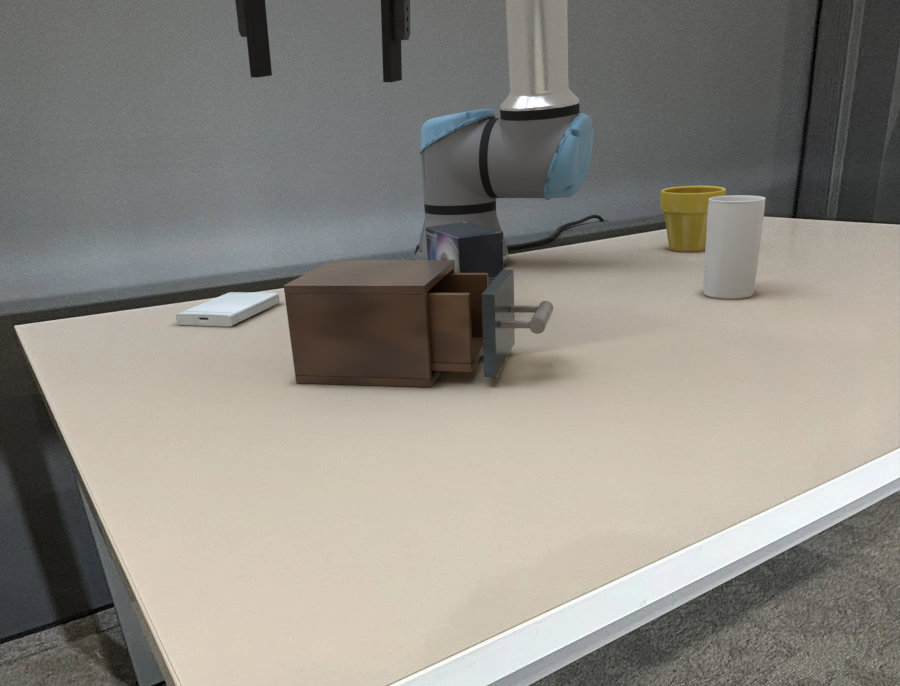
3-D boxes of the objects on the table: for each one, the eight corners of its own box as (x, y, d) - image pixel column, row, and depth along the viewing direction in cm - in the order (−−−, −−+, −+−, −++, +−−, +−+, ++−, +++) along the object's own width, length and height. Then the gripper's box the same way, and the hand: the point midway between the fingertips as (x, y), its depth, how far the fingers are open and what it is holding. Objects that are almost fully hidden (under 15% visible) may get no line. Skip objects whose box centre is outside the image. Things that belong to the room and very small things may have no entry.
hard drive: (227, 291, 112) (174, 312, 101) (278, 292, 110) (230, 313, 99) (229, 303, 113) (176, 325, 102) (280, 304, 110) (232, 327, 100)
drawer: (555, 344, 83) (555, 269, 80) (542, 379, 72) (542, 294, 69) (400, 341, 86) (395, 269, 83) (367, 374, 76) (360, 293, 73)
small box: (426, 307, 105) (422, 225, 100) (471, 300, 107) (468, 220, 103) (459, 324, 96) (455, 235, 91) (507, 317, 98) (506, 229, 94)
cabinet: (458, 349, 86) (455, 259, 82) (430, 387, 75) (424, 285, 71) (340, 347, 89) (331, 260, 85) (295, 383, 78) (283, 285, 74)
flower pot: (683, 256, 129) (688, 193, 125) (645, 248, 138) (648, 189, 134) (734, 249, 133) (740, 188, 129) (693, 241, 142) (697, 184, 138)
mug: (749, 301, 99) (759, 201, 95) (694, 297, 103) (702, 201, 98) (765, 285, 107) (775, 192, 102) (714, 282, 110) (722, 192, 106)
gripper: (147, -211, 65) (188, 77, 75) (437, -233, 58) (437, 86, 68) (200, -192, 71) (231, 72, 81) (468, -210, 64) (464, 80, 74)
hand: (325, 79), depth 75 cm, fingers open, 13 cm apart
